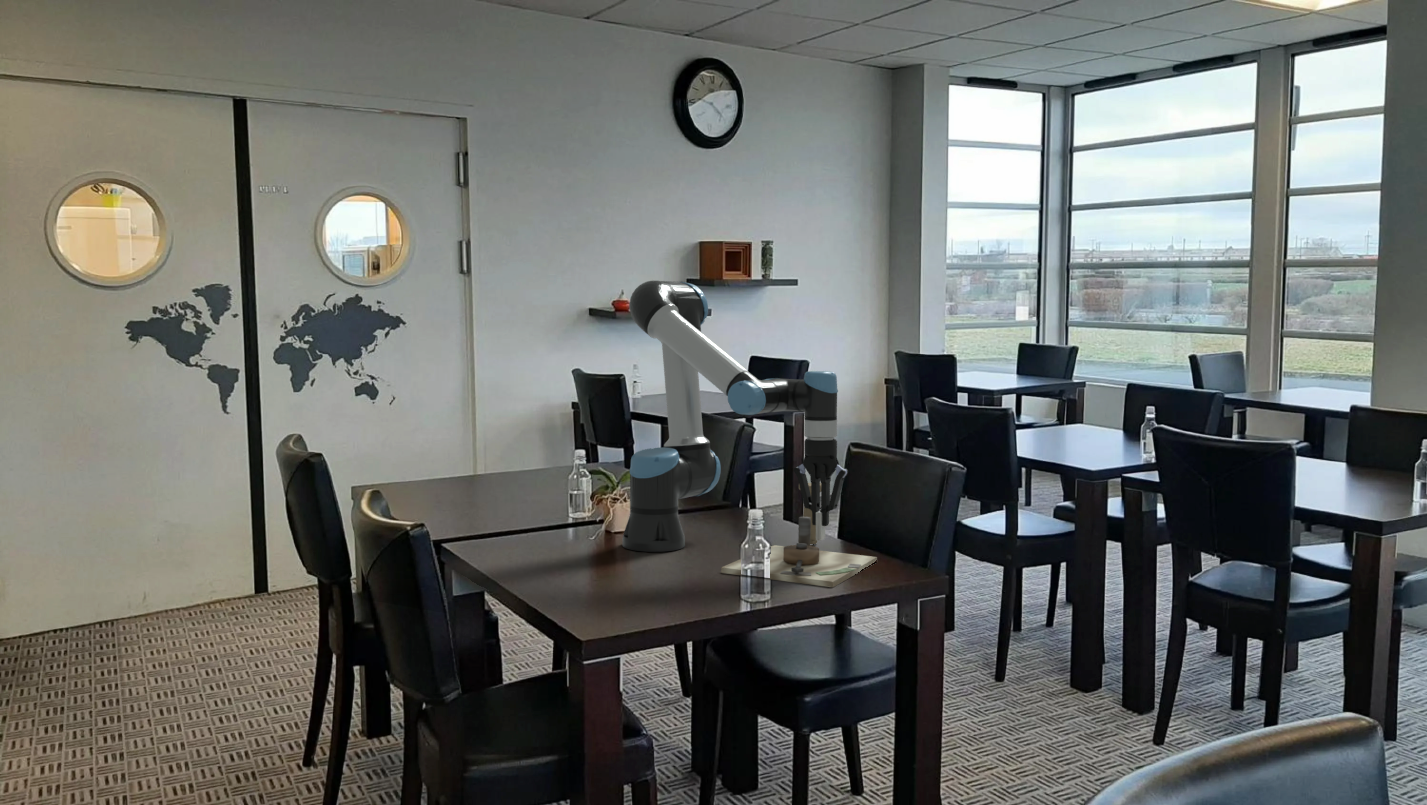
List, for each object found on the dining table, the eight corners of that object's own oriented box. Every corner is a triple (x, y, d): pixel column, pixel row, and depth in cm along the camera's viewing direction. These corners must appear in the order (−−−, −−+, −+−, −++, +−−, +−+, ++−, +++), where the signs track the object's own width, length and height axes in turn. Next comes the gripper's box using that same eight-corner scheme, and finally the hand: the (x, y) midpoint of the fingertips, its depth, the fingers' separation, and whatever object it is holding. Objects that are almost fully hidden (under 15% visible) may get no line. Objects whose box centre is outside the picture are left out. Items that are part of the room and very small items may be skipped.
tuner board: (721, 572, 243) (721, 566, 243) (773, 550, 268) (773, 544, 267) (834, 587, 231) (834, 580, 231) (878, 562, 256) (878, 556, 255)
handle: (826, 545, 274) (827, 485, 273) (802, 547, 272) (804, 486, 271) (817, 541, 278) (818, 482, 277) (794, 543, 276) (795, 483, 275)
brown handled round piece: (815, 575, 235) (816, 537, 234) (778, 573, 236) (778, 536, 236) (821, 551, 260) (822, 517, 259) (787, 549, 261) (788, 516, 260)
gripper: (852, 437, 256) (852, 539, 258) (801, 435, 262) (801, 534, 264) (841, 440, 250) (840, 544, 251) (788, 438, 256) (788, 540, 257)
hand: (820, 539), depth 258 cm, fingers closed
